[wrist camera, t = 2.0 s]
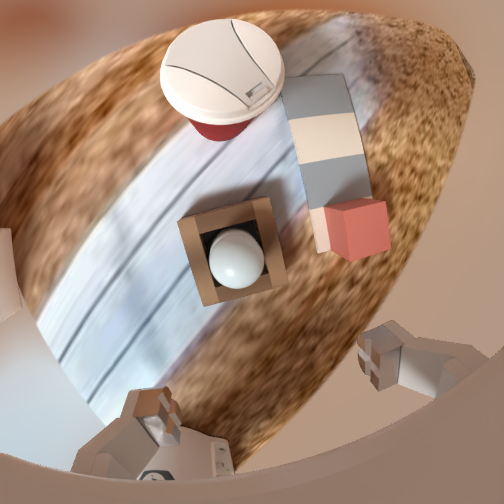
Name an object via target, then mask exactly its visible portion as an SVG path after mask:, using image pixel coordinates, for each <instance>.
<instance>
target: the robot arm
mask: <svg viewBox="0 0 504 504" xmlns="http://www.w3.org/2000/svg"><path fill="white" fill-rule="evenodd" d="M357 344H358V345H359V346H360V347H361V348H360V350H359V352H358V360H359V364H360V367H361V369H362V371H363V372H364V373H365V374H366V375H369V376H371V379H370V381H371V383H372V384H373V385H374V387H375V388H376V389H377V391H381V390H383V389H386V388H388V387H390V386H392V385H394V384H396V383H398V384H399V385H402V386H404V387H407V388H410V389H412V390H415V391H417V392H420V393H423V394H425V395H428V396H431V397H433V398H435V400H433V401H432V402H430V403H428V404H427V405H425V406H423V407H422V408H420V409H418V410H417V411H415V412H413V413H411V414H410V415H408V416H406V417H404V418H402V419H401V420H399V421H397V422H395V423H393V424H391V425H389V426H387V427H385V428H383V429H380V430H378V431H376V432H374V433H372V434H370V435H367V436H365V437H363V438H361V439H358V440H356V441H353V442H351V443H348V444H346V445H343V446H341V447H338V448H335V449H333V450H330V451H327V452H324V453H321V454H318V455H315V456H312V457H309V458H305V459H302V460H299V461H295V462H292V463H288V464H284V465H280V466H277V467H272V468H267V469H262V470H258V471H253V472H247V473H242V474H235V472H234V467H233V463H232V458H231V453H230V448H229V443H228V441H227V440H225V439H222V438H216V437H210V436H207V435H205V434H203V433H200V432H198V431H196V430H193V429H190V428H186V427H182V426H180V425H181V424H182V414H181V410H180V407H179V405H178V403H177V402H176V401H175V400H173V399H171V395H172V393H171V391H170V390H169V388H168V387H166V386H161V387H153V388H143V389H134V390H131V391H129V393H128V396H127V398H126V401H125V404H124V407H123V410H122V413H121V416H120V418H116V419H115V420H114V421H113V422H111V423H110V424H109V425H108V426H107V427H106V428H104V429H103V430H102V431H101V432H100V433H99V434H97V435H96V436H95V437H94V438H92V439H91V440H90V441H89V442H88V443H87V444H85V445H84V446H83V447H82V448H80V449H79V450H78V453H77V455H76V458H75V460H74V463H73V466H72V468H71V471H70V472H68V471H63V470H58V469H54V468H50V467H46V466H42V465H39V464H35V463H32V462H29V461H25V460H22V459H19V458H17V457H13V456H11V455H8V454H5V453H0V504H504V346H503V347H502V348H501V349H500V350H499V351H498V352H497V353H496V354H495V355H494V356H492V357H491V358H490V359H489V358H488V357H486V356H485V355H484V354H482V353H481V352H480V351H478V350H477V349H475V348H474V347H473V346H471V345H468V344H459V343H453V342H446V341H440V340H434V339H427V338H421V337H418V338H415V337H413V336H412V335H411V334H410V333H409V332H407V331H406V330H405V329H404V328H403V327H401V326H400V325H399V324H398V323H396V322H395V321H393V320H391V321H389V322H386V323H384V324H382V325H381V326H378V327H376V328H374V329H371V330H369V331H366V332H364V333H361V334H359V335H358V337H357Z"/></svg>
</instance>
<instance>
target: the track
mask: <svg viewBox="0 0 504 504" xmlns="http://www.w3.org/2000/svg"><path fill="white" fill-rule="evenodd" d="M280 93H281V97H282V100H283V104H284V107H285V111H286V115H287V118H288V122H289V126H290V130H291V134H292V138H293V142H294V146H295V150H296V154H297V158H298V162H299V166H300V171H301V175H302V179H303V184H304V188H305V193H306V198H307V202H308V207H309V212H310V217H311V222H312V227H313V233H314V238H315V244H316V249H317V253H322V252H326V251H329V250H331V248H330V242H329V236H328V230H327V224H326V219H325V213H324V208H323V207H324V206H329V205H333V204H337V203H342V202H346V201H350V200H355V199H359V198H367V199H373V197H372V191H371V185H370V180H369V174H368V169H367V164H366V159H365V155H364V150H363V146H362V142H361V137H360V133H359V129H358V125H357V121H356V118H355V114H354V110H353V107H352V103H351V100H350V97H349V93H348V90H347V87H346V84H345V81H344V78H343V75H342V74H337V75H314V76H301V77H290V78H284V83H283V86H282V89H281V91H280Z"/></svg>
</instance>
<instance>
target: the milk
mask: <svg viewBox="0 0 504 504" xmlns="http://www.w3.org/2000/svg"><path fill="white" fill-rule="evenodd" d="M20 309H22V303H21V299H20V293H19V288H18V283H17V277H16V271H15V264H14V256H13V247H12V236H11V228H0V323H1V322H2V321H4V320H5V319H7V318H8V317H10V316H11V315H12V314H14V313H16V312H17V311H19V310H20Z"/></svg>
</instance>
